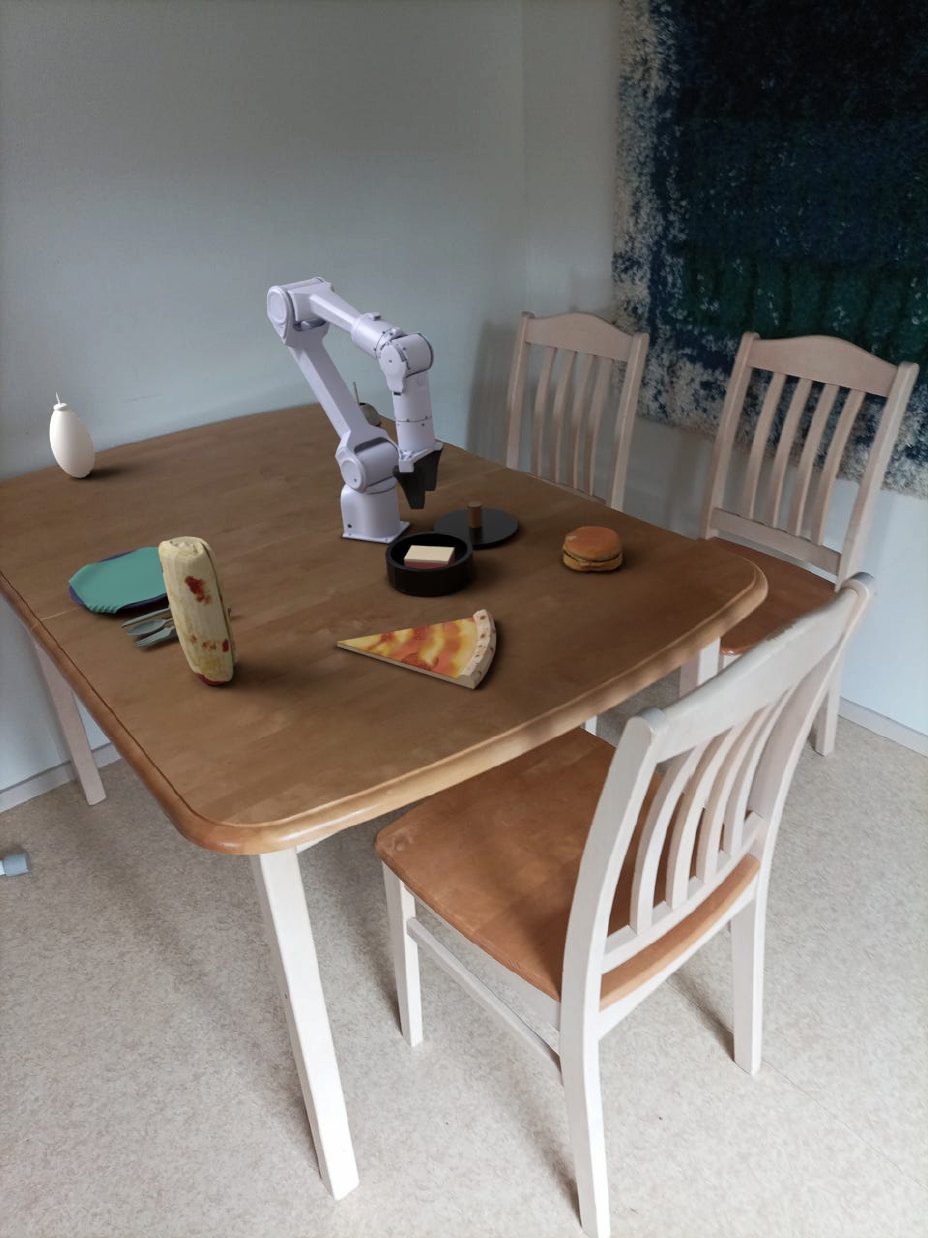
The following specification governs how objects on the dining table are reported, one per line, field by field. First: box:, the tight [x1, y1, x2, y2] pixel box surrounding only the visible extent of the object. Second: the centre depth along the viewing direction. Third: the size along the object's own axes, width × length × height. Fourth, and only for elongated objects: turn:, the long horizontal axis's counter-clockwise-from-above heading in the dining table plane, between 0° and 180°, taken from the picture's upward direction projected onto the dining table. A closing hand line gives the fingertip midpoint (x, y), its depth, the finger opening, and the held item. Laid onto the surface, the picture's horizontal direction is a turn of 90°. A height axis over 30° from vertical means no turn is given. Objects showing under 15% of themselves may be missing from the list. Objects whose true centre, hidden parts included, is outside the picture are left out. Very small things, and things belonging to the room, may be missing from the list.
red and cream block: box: [404, 546, 455, 569], centre depth 137 cm, size 7×4×4 cm, turn 78°
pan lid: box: [433, 500, 519, 548], centre depth 150 cm, size 15×15×5 cm
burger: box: [561, 525, 624, 572], centre depth 139 cm, size 10×9×5 cm
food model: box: [158, 535, 239, 686], centre depth 113 cm, size 10×7×20 cm
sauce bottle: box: [49, 391, 96, 479], centre depth 179 cm, size 8×8×18 cm
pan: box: [384, 530, 475, 598], centre depth 137 cm, size 14×14×4 cm
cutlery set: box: [67, 546, 232, 648], centre depth 136 cm, size 20×30×2 cm, turn 37°
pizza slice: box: [336, 608, 497, 690], centre depth 122 cm, size 16×22×2 cm
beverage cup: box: [352, 380, 382, 429], centre depth 169 cm, size 7×7×20 cm
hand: (423, 499), depth 141 cm, fingers open, 7 cm apart
